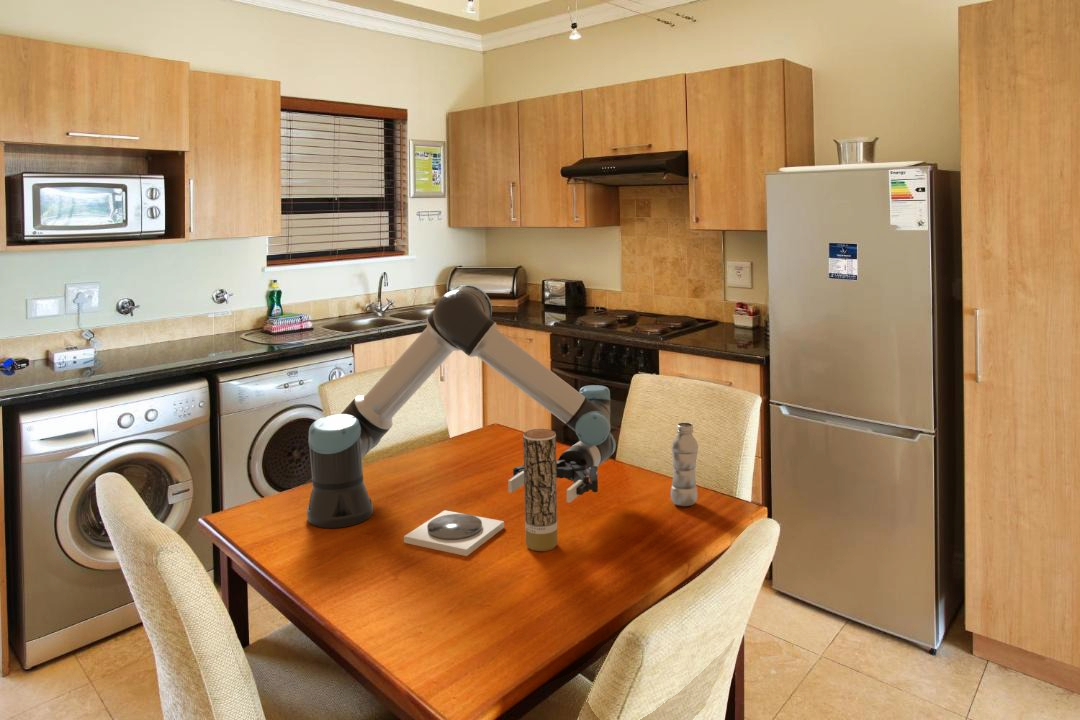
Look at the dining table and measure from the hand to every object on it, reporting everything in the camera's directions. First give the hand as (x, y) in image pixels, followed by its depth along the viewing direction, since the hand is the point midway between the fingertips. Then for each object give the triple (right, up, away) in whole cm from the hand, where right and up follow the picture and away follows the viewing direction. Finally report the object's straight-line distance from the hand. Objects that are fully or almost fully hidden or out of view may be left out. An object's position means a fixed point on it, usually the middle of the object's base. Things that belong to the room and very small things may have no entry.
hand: (538, 491), depth 159 cm
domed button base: (-19, -11, +10) cm, 24 cm away
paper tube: (+1, -13, +4) cm, 13 cm away
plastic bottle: (+35, -8, +25) cm, 44 cm away
